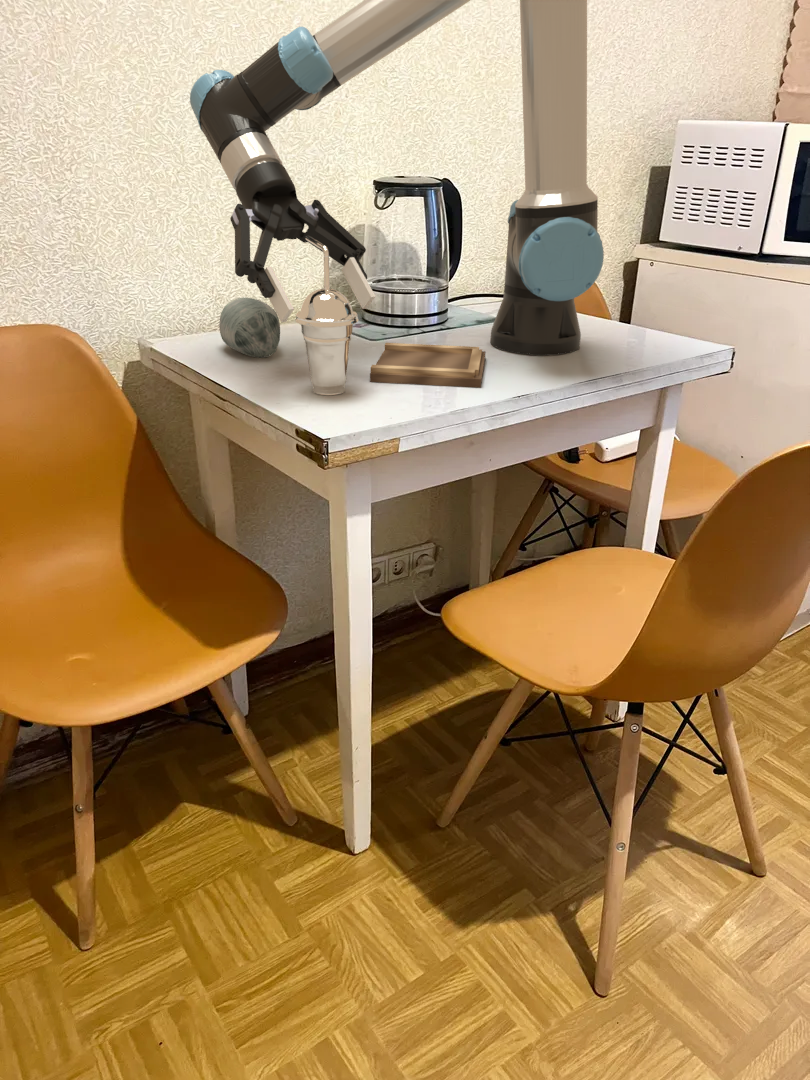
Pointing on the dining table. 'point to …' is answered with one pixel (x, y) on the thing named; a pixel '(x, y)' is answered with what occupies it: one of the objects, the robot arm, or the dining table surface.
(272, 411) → the dining table surface
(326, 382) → the cup with straw
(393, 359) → the brown flat square tray
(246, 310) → the spool
